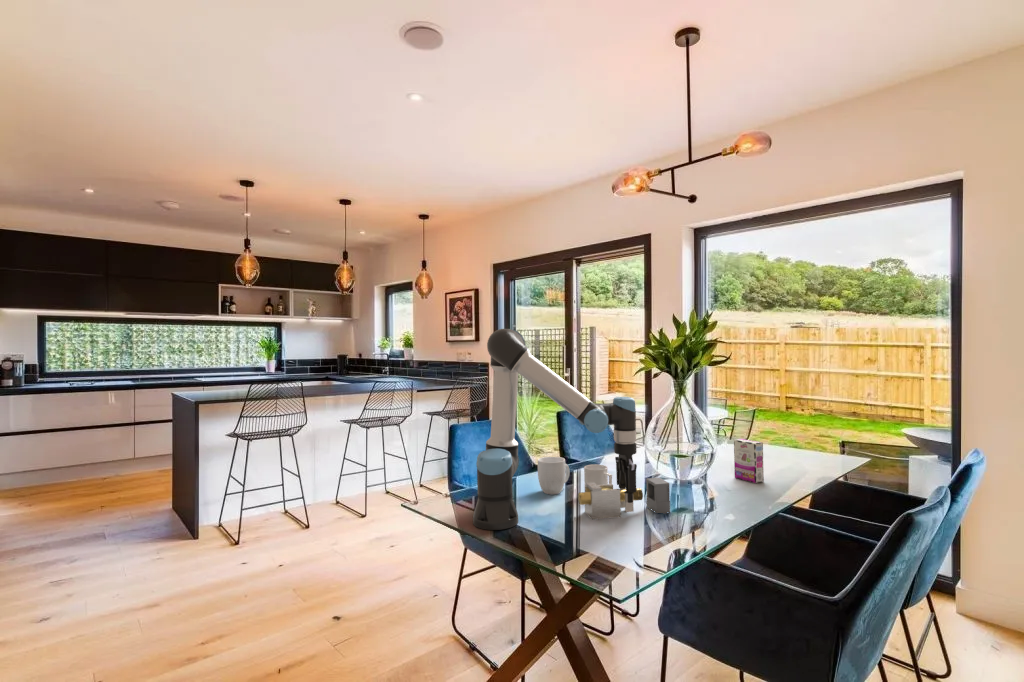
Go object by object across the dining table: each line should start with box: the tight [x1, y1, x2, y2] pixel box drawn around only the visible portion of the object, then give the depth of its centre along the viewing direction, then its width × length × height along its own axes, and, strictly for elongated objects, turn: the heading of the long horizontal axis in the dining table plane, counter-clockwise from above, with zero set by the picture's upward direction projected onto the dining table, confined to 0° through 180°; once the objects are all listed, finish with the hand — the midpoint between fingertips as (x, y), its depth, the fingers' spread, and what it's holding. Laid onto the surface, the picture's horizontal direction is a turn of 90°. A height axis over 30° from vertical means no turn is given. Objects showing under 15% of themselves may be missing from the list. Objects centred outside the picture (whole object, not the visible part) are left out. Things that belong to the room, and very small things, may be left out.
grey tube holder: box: [584, 482, 622, 520], centre depth 185 cm, size 10×8×10 cm
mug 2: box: [583, 464, 613, 487], centre depth 205 cm, size 12×9×11 cm
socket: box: [645, 477, 671, 514], centre depth 188 cm, size 5×8×10 cm, turn 10°
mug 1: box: [537, 456, 571, 496], centre depth 214 cm, size 15×11×13 cm
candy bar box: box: [733, 438, 765, 484], centre depth 225 cm, size 11×5×16 cm, turn 25°
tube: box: [577, 487, 644, 506], centre depth 185 cm, size 22×4×4 cm, turn 100°
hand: (626, 509), depth 186 cm, fingers closed on tube, 4 cm apart
